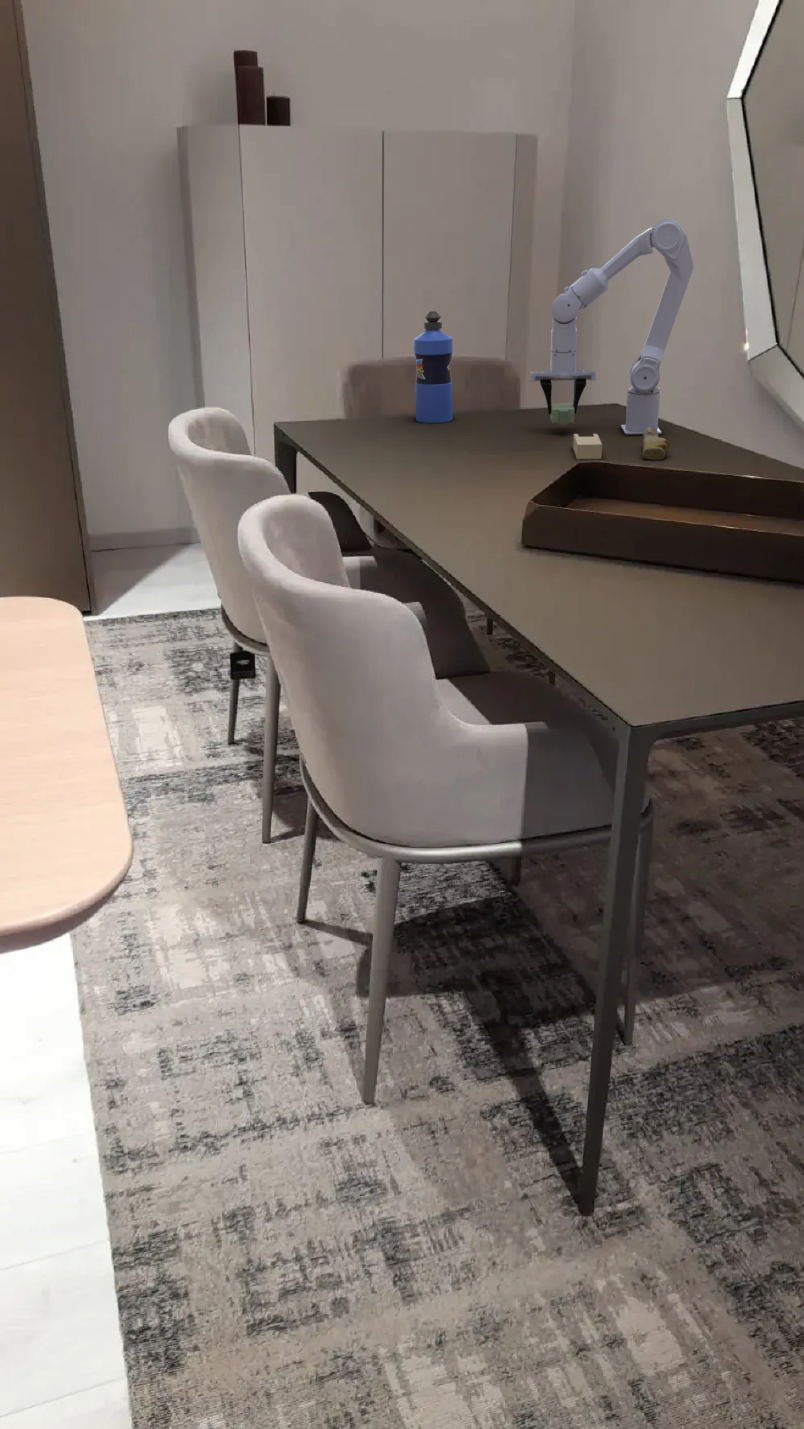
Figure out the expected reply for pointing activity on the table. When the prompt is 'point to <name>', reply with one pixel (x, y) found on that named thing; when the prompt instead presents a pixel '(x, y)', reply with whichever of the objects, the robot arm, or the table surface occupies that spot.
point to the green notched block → (562, 413)
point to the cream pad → (587, 447)
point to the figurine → (654, 445)
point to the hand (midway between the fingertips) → (561, 413)
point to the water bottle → (433, 372)
